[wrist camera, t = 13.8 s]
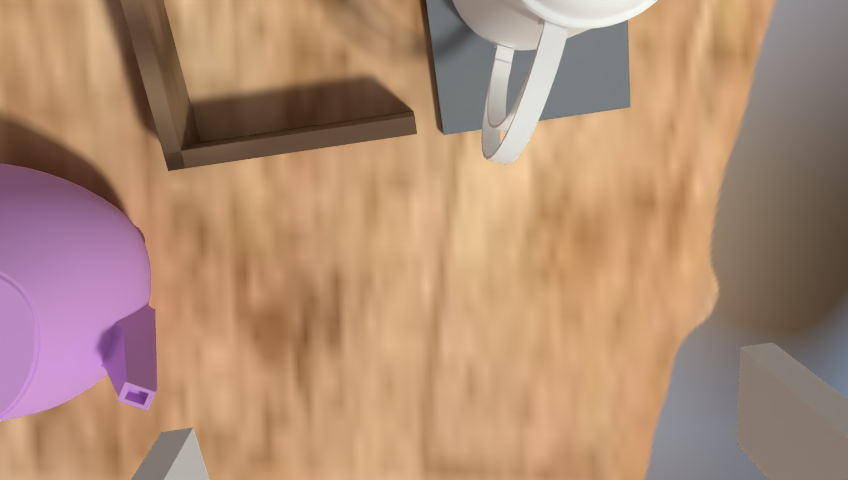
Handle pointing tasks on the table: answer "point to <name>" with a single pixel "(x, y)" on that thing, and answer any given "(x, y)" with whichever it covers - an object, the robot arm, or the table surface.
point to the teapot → (70, 296)
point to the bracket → (177, 117)
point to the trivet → (524, 71)
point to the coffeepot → (528, 30)
